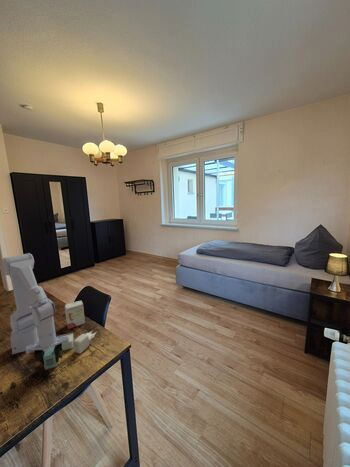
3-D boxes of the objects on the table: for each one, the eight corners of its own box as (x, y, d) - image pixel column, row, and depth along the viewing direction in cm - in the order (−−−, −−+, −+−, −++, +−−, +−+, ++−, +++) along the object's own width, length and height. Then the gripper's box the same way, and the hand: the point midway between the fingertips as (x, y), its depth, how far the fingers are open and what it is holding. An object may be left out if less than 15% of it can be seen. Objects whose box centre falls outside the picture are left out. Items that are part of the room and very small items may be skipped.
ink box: (67, 329, 103) (65, 308, 101) (66, 324, 107) (64, 304, 105) (85, 323, 107) (83, 303, 106) (83, 319, 111) (81, 300, 110)
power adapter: (91, 336, 97) (90, 325, 96) (99, 338, 95) (98, 327, 94) (72, 352, 87) (71, 340, 86) (81, 355, 85) (79, 343, 84)
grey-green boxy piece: (44, 370, 78) (43, 358, 77) (49, 355, 85) (47, 344, 84) (56, 367, 79) (54, 355, 78) (59, 352, 87) (58, 341, 86)
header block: (35, 358, 84) (34, 350, 83) (39, 347, 90) (38, 340, 89) (72, 348, 89) (71, 340, 89) (73, 339, 95) (72, 332, 95)
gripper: (20, 344, 71) (26, 376, 73) (66, 333, 76) (69, 364, 79) (27, 332, 77) (31, 362, 80) (68, 323, 83) (71, 351, 85)
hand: (51, 362), depth 80 cm, fingers closed on grey-green boxy piece, 4 cm apart
